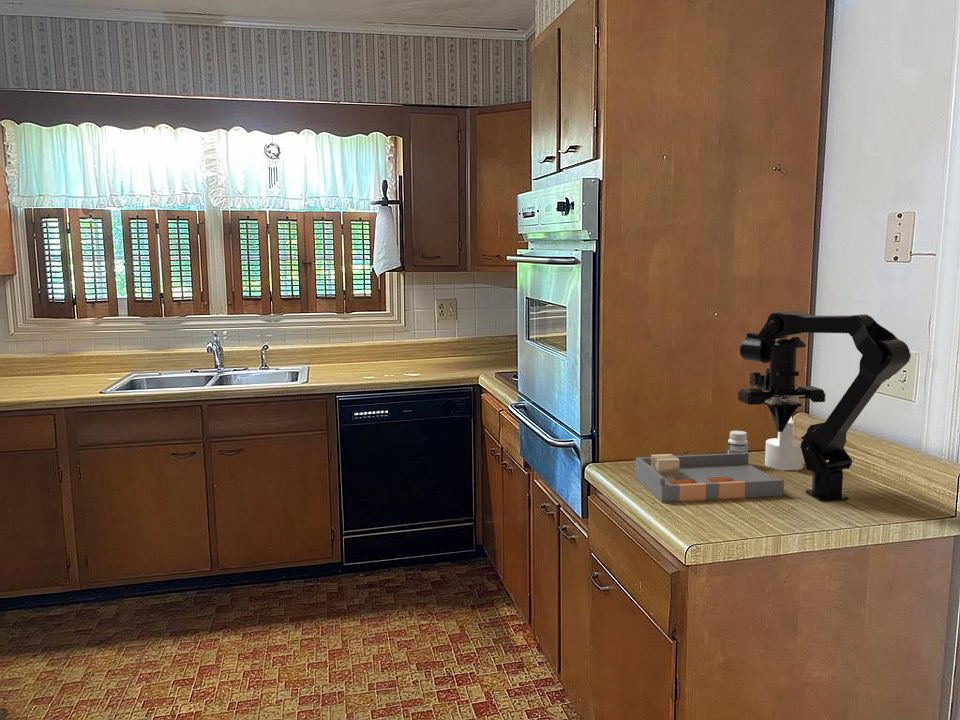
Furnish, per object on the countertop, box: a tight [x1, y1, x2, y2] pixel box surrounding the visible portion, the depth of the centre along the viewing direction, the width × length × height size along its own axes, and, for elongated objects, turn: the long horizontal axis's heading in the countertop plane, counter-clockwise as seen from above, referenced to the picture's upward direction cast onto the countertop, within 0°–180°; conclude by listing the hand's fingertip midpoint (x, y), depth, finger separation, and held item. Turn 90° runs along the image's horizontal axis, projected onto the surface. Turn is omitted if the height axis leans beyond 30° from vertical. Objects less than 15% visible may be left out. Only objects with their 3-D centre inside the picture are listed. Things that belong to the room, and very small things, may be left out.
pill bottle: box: [727, 430, 749, 453], centre depth 191 cm, size 5×5×8 cm
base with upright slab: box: [764, 415, 805, 471], centre depth 189 cm, size 9×9×12 cm
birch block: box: [650, 453, 680, 477], centre depth 176 cm, size 5×5×4 cm
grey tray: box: [635, 452, 785, 503], centre depth 174 cm, size 18×28×5 cm, turn 97°
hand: (779, 431), depth 176 cm, fingers closed
